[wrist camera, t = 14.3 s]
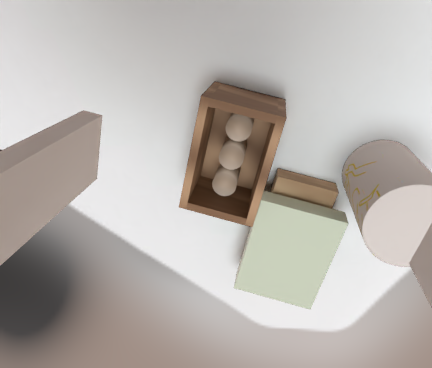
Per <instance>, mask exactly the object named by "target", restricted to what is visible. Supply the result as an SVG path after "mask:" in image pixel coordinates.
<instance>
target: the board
mask: <svg viewBox="0 0 432 368" xmlns="http://www.w3.org/2000/svg"><path fill="white" fill-rule="evenodd" d="M270 192H271V193H275V194H279V195H282V196H286V197H290V198H294V199H297V200H301V201H305V202H309V203H312V204H316V205H320V206H324V207H327V208H331V209H332V207H333V205H334V203H335V200H336V198H337V195H338V193H339V192H338V189H337V186H336V183H332V182H328V181H325V180H321V179H317V178H313V177H309V176H306V175H302V174H298V173H294V172H290V171H287V170H283V169H279V168H278V169H277V172H276V175H275V179H274V182H273V185H272V188H271V191H270Z"/></svg>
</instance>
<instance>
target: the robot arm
mask: <svg viewBox="0 0 432 368" xmlns="http://www.w3.org/2000/svg"><path fill="white" fill-rule="evenodd" d="M101 124H102V115H99V114H95V113H91V112H87V111H84V110H83V111H81V112H79V113H77V114H75V115H73V116H71V117H69V118H67V119H65V120H63V121H61V122H59V123H57V124H55V125H53V126H51V127H49V128H46V129H44V130H42V131H40V132H38V133H36V134H34V135H32V136H30V137H28V138H26V139H24V140H22V141H20V142H18V143H16V144H14V145H12V146H10V147H8V148H6V149H4V150H0V265H1V264H3V263H4V262H5V261H6V260H7V259H8V258H9V257H10V256H11V255H12V254H14V253H15V252H16V251H17V250H18V249H19V248H20V247H21V246H22V245H24V244H25V243H26V242H27V241H28V240H29V239H30V238H31V237H32V236H34V234H36V233H37V232H38V231H39V230H40V229H41V228H43V227H44V226H45V225H46V224H47V223H48V222H49V221H50V220H51V219H53V218H54V217H55V216H56V215H57V214H58V213H59V212H60V211H61V210H63V209H64V208H65V207H66V206H67V205H68V204H69V203H70V202H71V201H73V200H74V199H75V198H76V197H77V196H78V195H79V194H80V193H81V192H83V191H84V190H85V189H86V188H87V187H88V186H89V185H90V184H91V183H93V182H94V181H95V180H96V179H97V171H98V159H99V147H100V135H101ZM409 264H410V266H411V268H412V270H413V272H414V274H415V276H416V278H417V280H418V282H419V284H420V286H421V288H422V289H423V292H424V294H425V296H426V298H427V300H428V301H429V303H430V305H431V307H432V223H431V225H430V227H429V229H428V230H427V232H426V234H425V236H424V238H423V239H422V241H421V243H420V245H419V247H418V248H417V250H416V252H415V254H414V255H413V257H412V259H411V261H410V263H409Z"/></svg>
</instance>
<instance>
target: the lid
mask: <svg viewBox="0 0 432 368" xmlns="http://www.w3.org/2000/svg"><path fill="white" fill-rule="evenodd" d="M347 226H348V221H347V217H346V214H345V212H342V211H338V210H335V209H331V208H327V207H324V206H320V205H316V204H312V203H309V202H305V201H301V200H297V199H294V198H290V197H286V196H282V195H279V194H275V193H271V192H267V191H264V192H263V195H262V198H261V201H260V204H259V208H258V211H257V214H256V217H255V221H254V224H253V227H251V228H250V232H249V235H248V238H247V241H246V245H245V248H244V251H243V254H242V258H241V261H240V264H239V267H238V271H237V274H236V279H235V285H234V288H236V289H239V290H243V291H246V292H250V293H253V294H257V295H260V296H264V297H268V298H271V299H275V300H278V301H282V302H285V303H289V304H292V305H296V306H299V307H303V308H307V309H311V307H312V305H313V302H314V300H315V298H316V296H317V293H318V291H319V289H320V287H321V284H322V282H323V280H324V277H325V275H326V273H327V271H328V268H329V266H330V264H331V262H332V259H333V257H334V255H335V253H336V250H337V248H338V246H339V244H340V241H341V239H342V237H343V235H344V232H345V230H346V228H347Z"/></svg>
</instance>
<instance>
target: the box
mask: <svg viewBox="0 0 432 368" xmlns="http://www.w3.org/2000/svg"><path fill="white" fill-rule="evenodd" d="M285 121H286V102H285V99H282V98H278V97H274V96H270V95H266V94H262V93H258V92H254V91H250V90H246V89H242V88H238V87H234V86H231V85H227V84H223V83H219V82H214V83H213V84H212V85H211V86H210V87H209V88H208V89H207V90H206V91H205V92H204V93H203V94H202V95H201V99H200V104H199V109H198V114H197V119H196V124H195V129H194V134H193V139H192V144H191V149H190V154H189V159H188V164H187V169H186V174H185V179H184V184H183V189H182V194H181V199H180V204H179V207H180V208H184V209H187V210H191V211H195V212H198V213H202V214H206V215H209V216H213V217H217V218H220V219H224V220H228V221H231V222H235V223H239V224H242V225H246V226H250V227H253V224H254V221H255V217H256V214H257V211H258V208H259V204H260V201H261V198H262V195H263V192H264V188H265V185H266V182H267V179H268V175H269V172H270V169H271V166H272V162H273V159H274V156H275V153H276V150H277V146H278V143H279V140H280V137H281V133H282V130H283V127H284V124H285Z"/></svg>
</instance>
